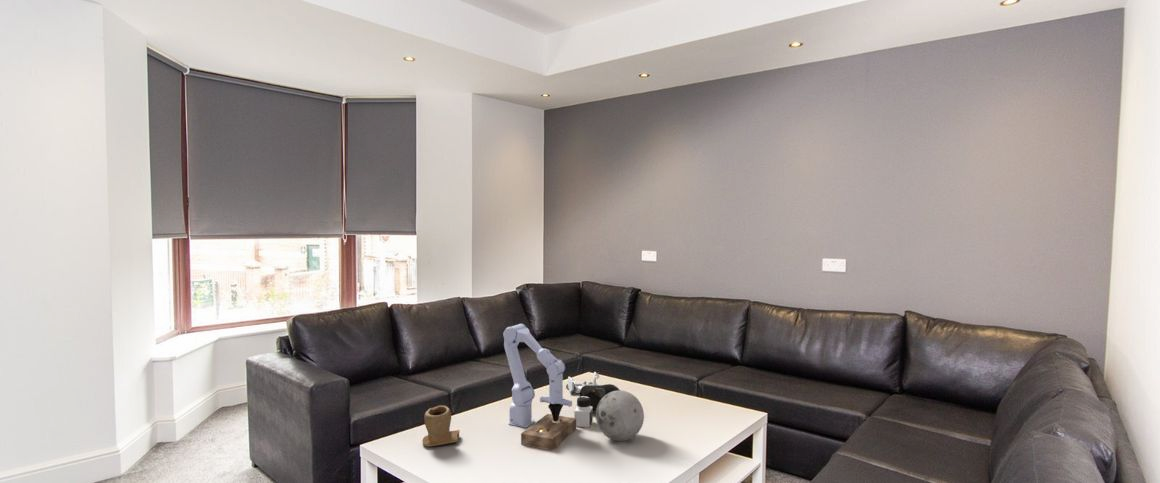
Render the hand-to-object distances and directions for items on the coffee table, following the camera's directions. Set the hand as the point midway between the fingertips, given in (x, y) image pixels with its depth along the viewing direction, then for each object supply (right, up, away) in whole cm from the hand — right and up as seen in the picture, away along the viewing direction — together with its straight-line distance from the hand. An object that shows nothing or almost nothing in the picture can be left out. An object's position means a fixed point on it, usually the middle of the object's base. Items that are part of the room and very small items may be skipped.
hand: (555, 420), depth 227 cm
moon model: (+27, -5, -8) cm, 29 cm away
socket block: (-2, -5, -5) cm, 8 cm away
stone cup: (-46, -5, -13) cm, 48 cm away
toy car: (+13, -3, +55) cm, 57 cm away
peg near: (-5, -5, -11) cm, 13 cm away
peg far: (0, -5, 0) cm, 4 cm away
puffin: (+20, -4, +27) cm, 33 cm away
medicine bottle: (+12, -5, +8) cm, 15 cm away
